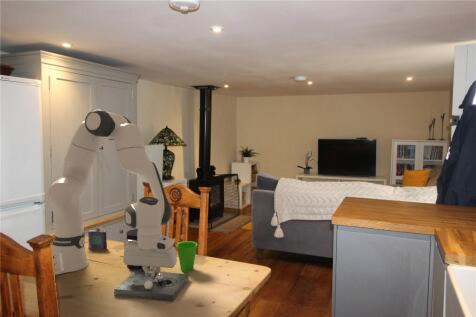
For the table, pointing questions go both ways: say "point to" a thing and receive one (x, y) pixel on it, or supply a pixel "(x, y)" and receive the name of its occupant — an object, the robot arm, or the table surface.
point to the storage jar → (133, 236)
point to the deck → (159, 290)
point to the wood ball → (156, 270)
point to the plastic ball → (148, 284)
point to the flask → (97, 239)
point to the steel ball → (159, 277)
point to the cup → (186, 255)
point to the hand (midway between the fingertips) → (150, 276)
